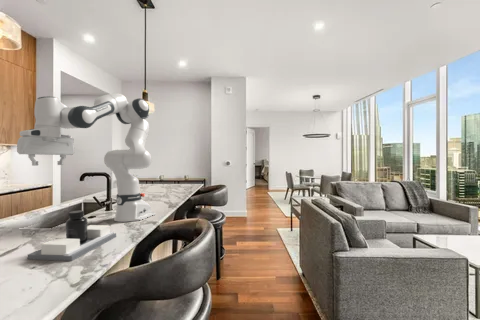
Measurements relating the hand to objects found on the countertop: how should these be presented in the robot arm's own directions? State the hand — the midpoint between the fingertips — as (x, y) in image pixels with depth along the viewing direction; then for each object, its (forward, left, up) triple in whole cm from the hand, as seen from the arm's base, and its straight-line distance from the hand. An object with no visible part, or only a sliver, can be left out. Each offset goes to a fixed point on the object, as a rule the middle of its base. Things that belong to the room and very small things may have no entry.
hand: (48, 165), depth 102 cm
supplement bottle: (+2, +24, -30) cm, 38 cm away
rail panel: (+2, +24, -31) cm, 39 cm away
